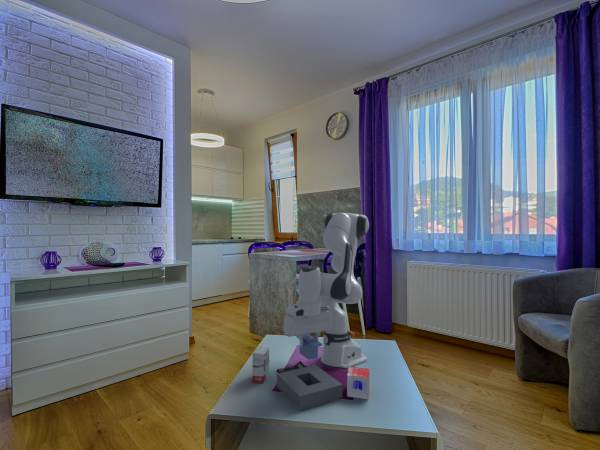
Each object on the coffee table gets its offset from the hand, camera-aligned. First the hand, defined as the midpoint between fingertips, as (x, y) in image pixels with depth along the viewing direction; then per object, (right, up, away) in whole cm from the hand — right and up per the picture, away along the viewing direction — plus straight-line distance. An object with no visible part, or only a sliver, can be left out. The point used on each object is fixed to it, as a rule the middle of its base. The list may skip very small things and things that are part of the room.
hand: (308, 344), depth 120 cm
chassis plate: (0, -18, 0) cm, 18 cm away
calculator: (-6, -19, +16) cm, 25 cm away
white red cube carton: (+19, -19, 0) cm, 27 cm away
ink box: (-20, -18, +11) cm, 29 cm away
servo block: (0, -4, 0) cm, 4 cm away
